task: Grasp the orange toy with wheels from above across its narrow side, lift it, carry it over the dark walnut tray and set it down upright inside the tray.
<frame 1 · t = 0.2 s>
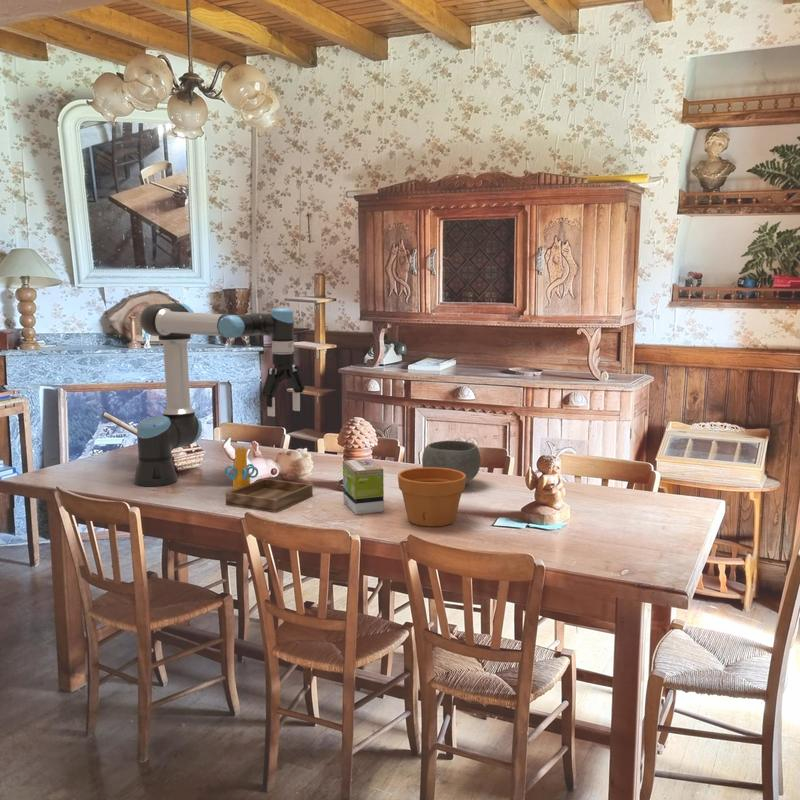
hand: (284, 413, 294), 27 cm above the table, fingers open, 13 cm apart
tea box: (363, 507, 276), on the table
flower pot: (431, 520, 262), on the table
orange toy with wheels: (241, 490, 297), on the table
tray: (270, 500, 283), on the table
bowl: (451, 486, 304), on the table
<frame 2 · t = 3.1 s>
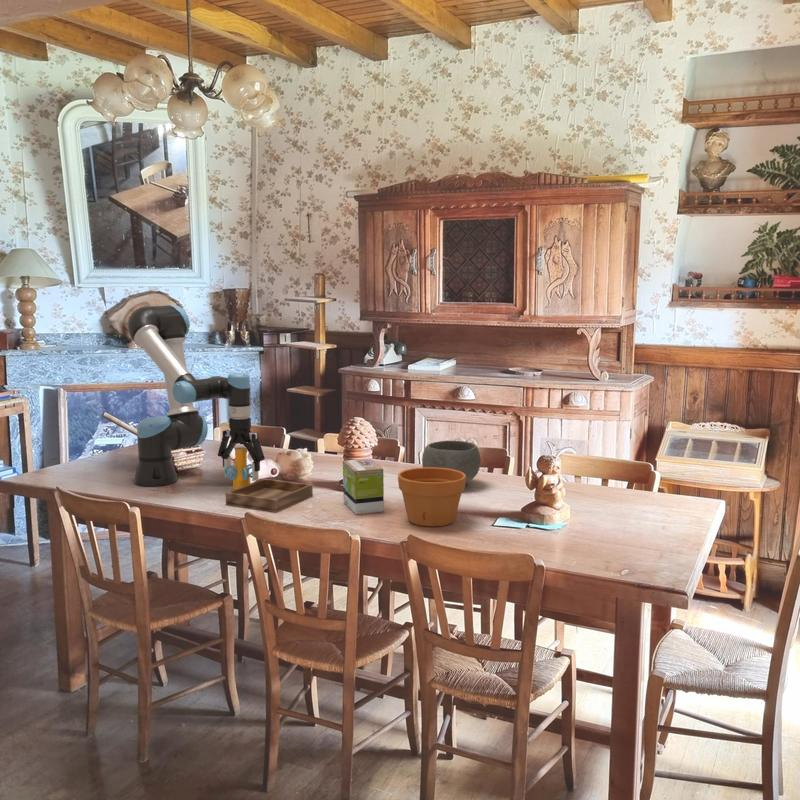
hand: (241, 478, 296), 4 cm above the table, fingers closed on orange toy with wheels, 11 cm apart
orange toy with wheels: (241, 490, 297), on the table, touching gripper
everything else where it was.
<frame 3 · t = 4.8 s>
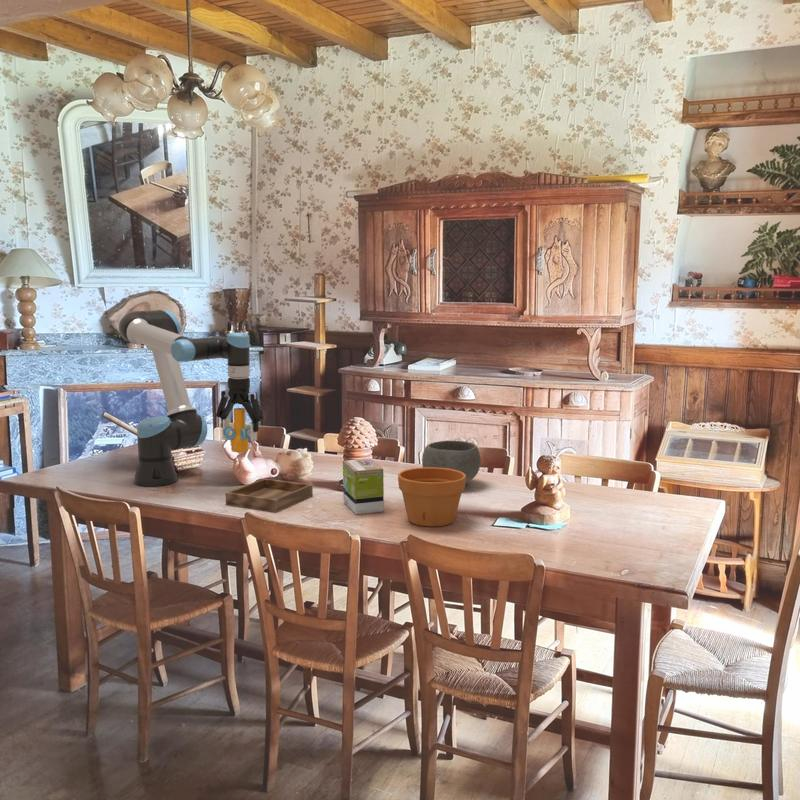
hand: (239, 439, 294), 18 cm above the table, fingers closed on orange toy with wheels, 11 cm apart
orange toy with wheels: (240, 451, 295), point 14 cm above the table, touching gripper
everything else where it was.
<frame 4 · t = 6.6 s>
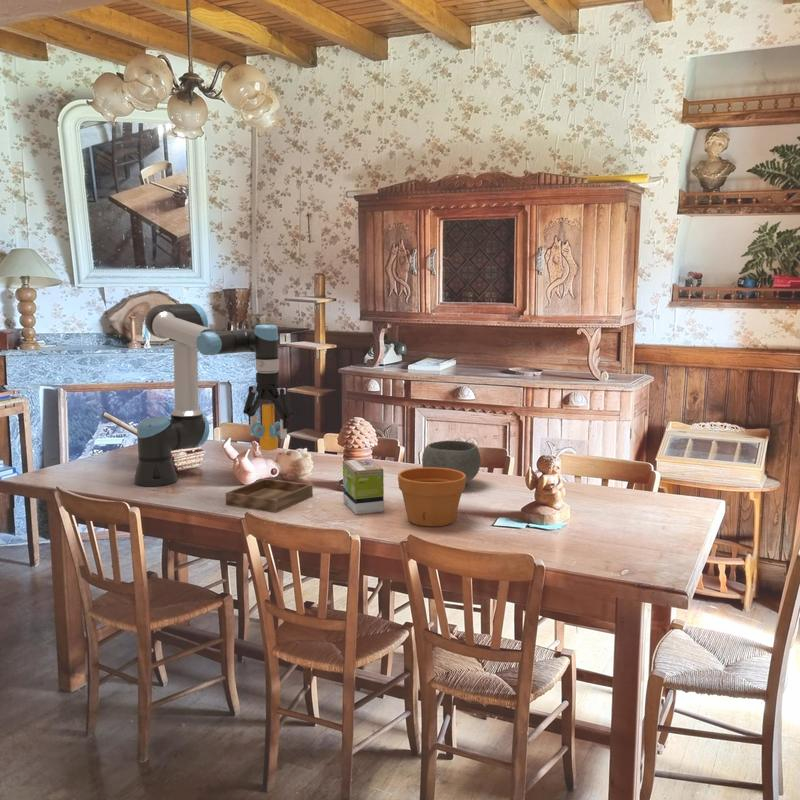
hand: (268, 436, 280), 22 cm above the table, fingers closed on orange toy with wheels, 11 cm apart
orange toy with wheels: (269, 449, 281), point 18 cm above the table, touching gripper
everything else where it was.
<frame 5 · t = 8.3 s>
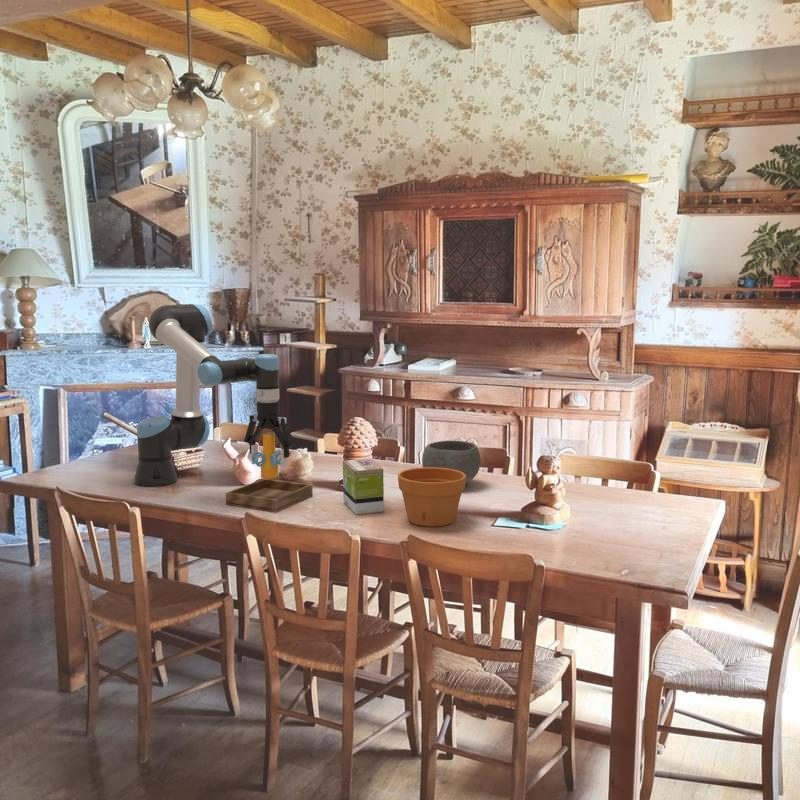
hand: (269, 465, 281), 12 cm above the table, fingers closed on orange toy with wheels, 11 cm apart
orange toy with wheels: (269, 477, 282), point 8 cm above the table, touching gripper
everything else where it was.
when the fingers open (7 cm above the table, at t = 10.0 s): orange toy with wheels drops 1 cm, resting on tray.
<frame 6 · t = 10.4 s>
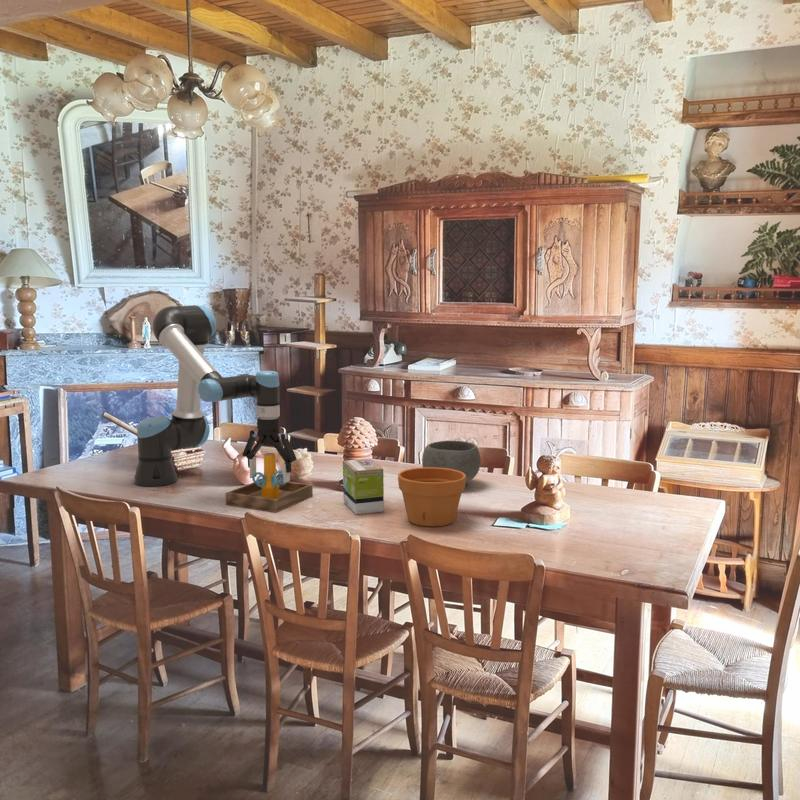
hand: (269, 479, 282), 7 cm above the table, fingers open, 13 cm apart
orange toy with wheels: (270, 498, 283), point 1 cm above the table, touching tray
everything else where it was.
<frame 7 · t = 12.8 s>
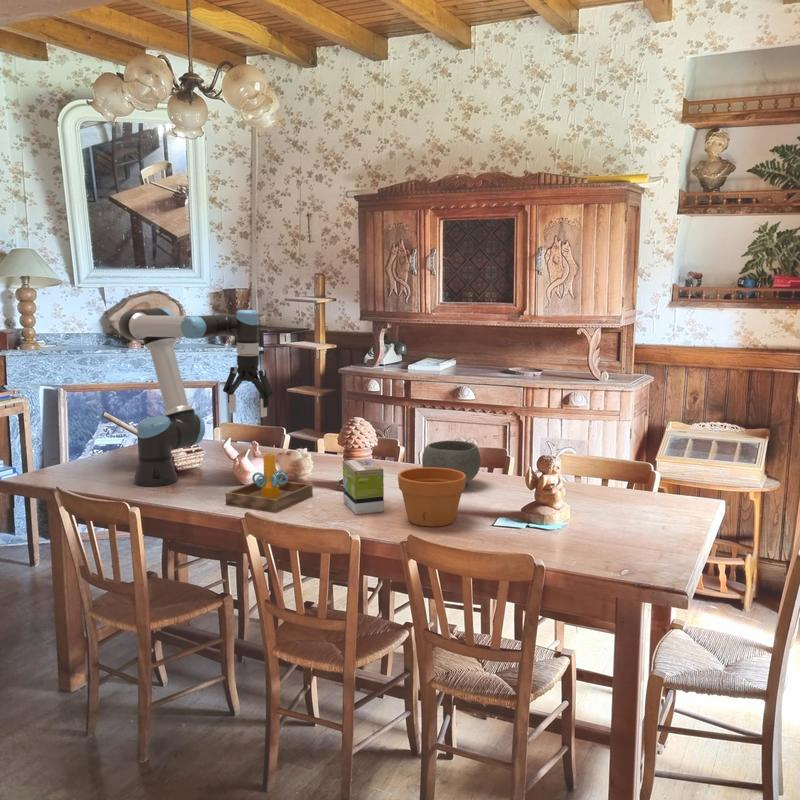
hand: (248, 414, 295), 27 cm above the table, fingers open, 13 cm apart
nothing on the table moved.
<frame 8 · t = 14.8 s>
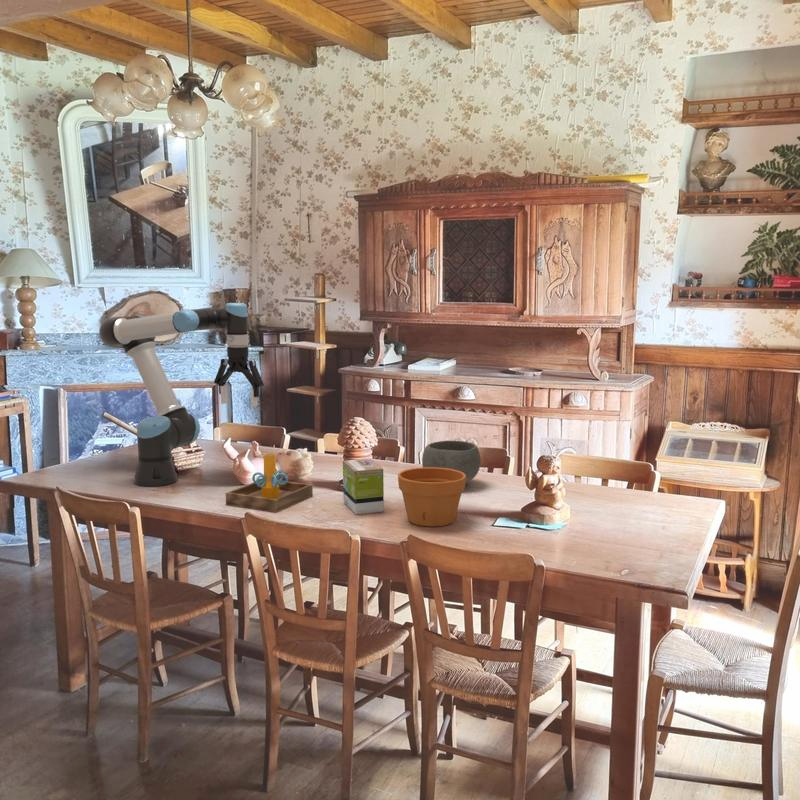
hand: (239, 404, 303), 29 cm above the table, fingers open, 13 cm apart
nothing on the table moved.
at the end: orange toy with wheels inside the target area on the tray (0.1 cm from its centre), point 0.8 cm above the tray's base; orange toy with wheels tilted 0°; the gripper is holding nothing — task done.
